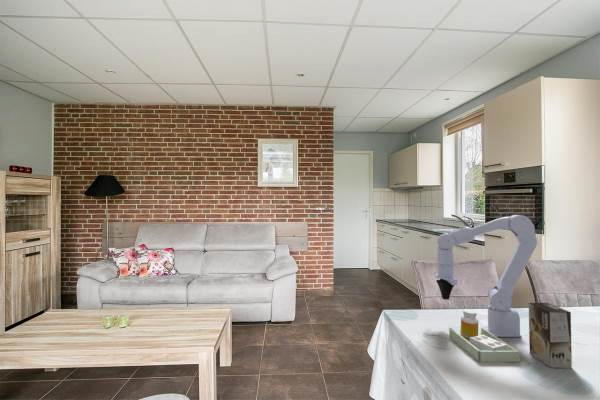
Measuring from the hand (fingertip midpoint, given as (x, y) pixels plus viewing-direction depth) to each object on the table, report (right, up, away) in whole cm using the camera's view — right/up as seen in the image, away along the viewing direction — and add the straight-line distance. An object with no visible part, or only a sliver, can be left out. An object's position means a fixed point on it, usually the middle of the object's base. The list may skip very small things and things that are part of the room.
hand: (445, 299), depth 120 cm
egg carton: (+2, -10, -24) cm, 26 cm away
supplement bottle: (+2, -10, -13) cm, 17 cm away
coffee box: (+18, -10, -28) cm, 35 cm away
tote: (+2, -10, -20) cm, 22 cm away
